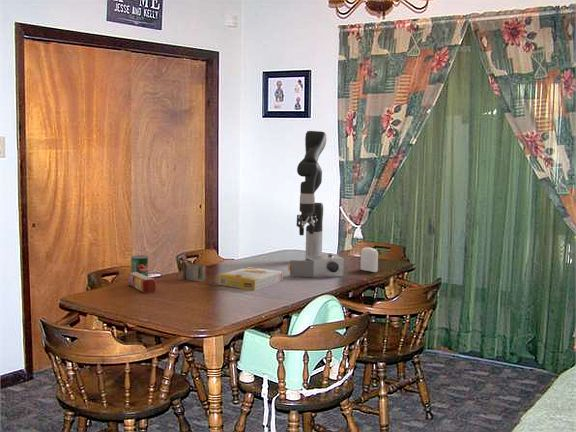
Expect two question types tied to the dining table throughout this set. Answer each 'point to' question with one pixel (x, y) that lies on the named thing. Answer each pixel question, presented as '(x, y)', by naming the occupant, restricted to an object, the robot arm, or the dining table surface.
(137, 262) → the canned tomato
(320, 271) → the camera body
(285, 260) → the dining table surface
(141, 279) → the snack package
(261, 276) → the cereal box
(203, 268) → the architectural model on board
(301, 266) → the side door
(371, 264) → the photo printer
